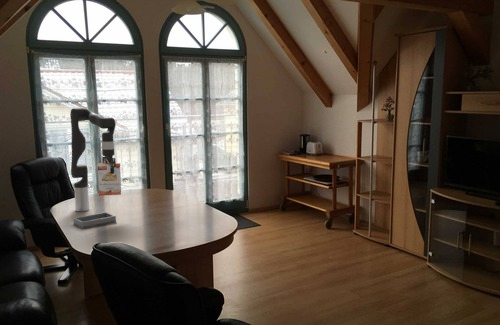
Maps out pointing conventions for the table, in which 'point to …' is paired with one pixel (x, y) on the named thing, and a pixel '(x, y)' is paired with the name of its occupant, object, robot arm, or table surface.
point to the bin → (94, 220)
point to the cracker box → (109, 180)
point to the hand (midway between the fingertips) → (109, 172)
